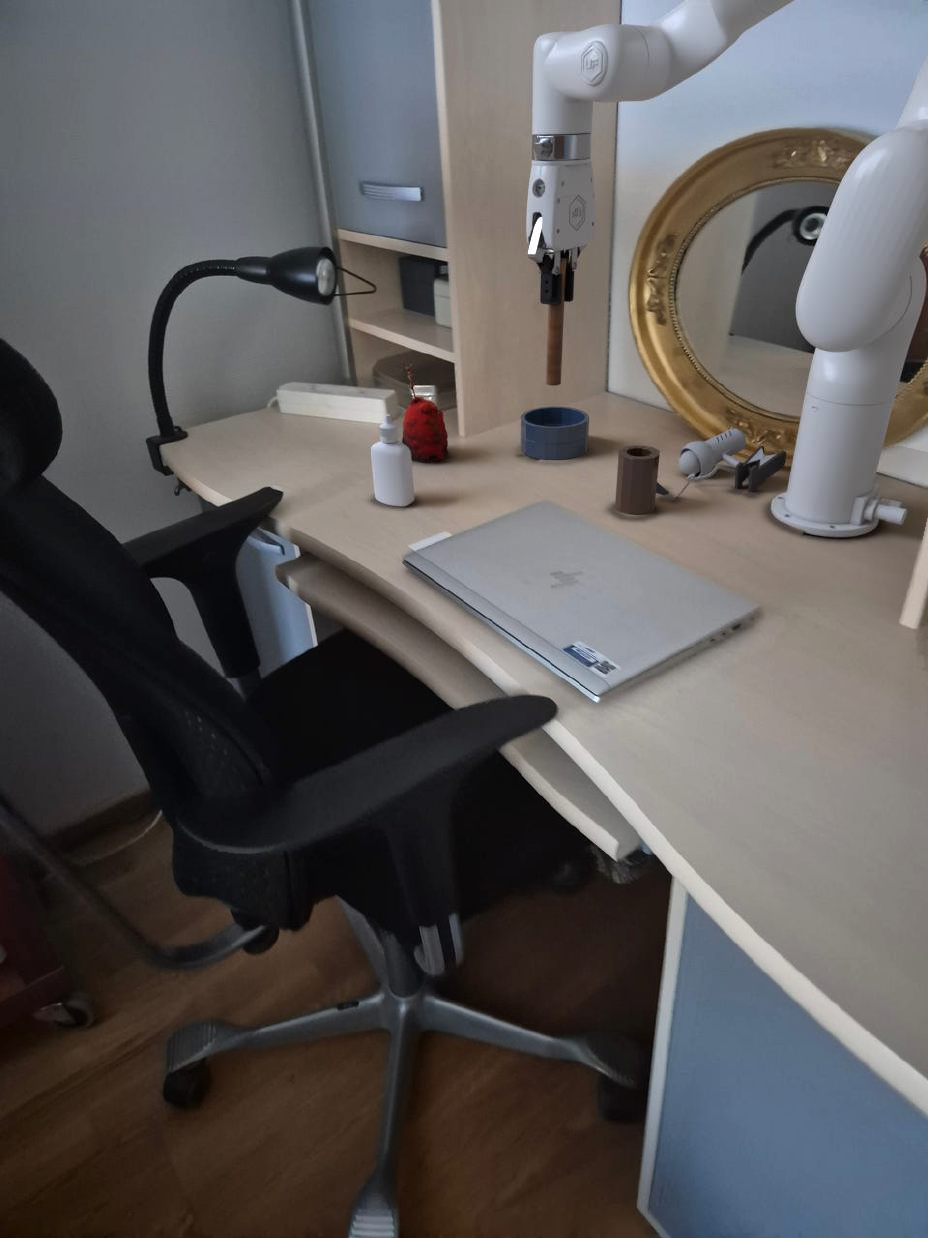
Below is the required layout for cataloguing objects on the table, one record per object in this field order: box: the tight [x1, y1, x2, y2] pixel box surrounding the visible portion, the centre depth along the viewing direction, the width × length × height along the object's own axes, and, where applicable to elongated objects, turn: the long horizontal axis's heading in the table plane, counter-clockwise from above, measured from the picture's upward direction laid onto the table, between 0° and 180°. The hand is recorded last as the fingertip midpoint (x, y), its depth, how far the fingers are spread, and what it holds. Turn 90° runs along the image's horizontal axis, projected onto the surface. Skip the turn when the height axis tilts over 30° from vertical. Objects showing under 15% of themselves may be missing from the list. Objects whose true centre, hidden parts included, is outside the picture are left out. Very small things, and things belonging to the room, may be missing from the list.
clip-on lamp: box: [656, 427, 787, 498], centre depth 110 cm, size 12×6×18 cm
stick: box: [545, 257, 566, 386], centre depth 115 cm, size 2×2×17 cm
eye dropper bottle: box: [370, 413, 415, 507], centre depth 108 cm, size 4×6×12 cm
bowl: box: [520, 405, 590, 461], centre depth 123 cm, size 10×10×6 cm
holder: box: [614, 444, 660, 516], centre depth 103 cm, size 5×5×8 cm
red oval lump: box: [400, 360, 449, 463], centre depth 121 cm, size 8×7×15 cm
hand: (556, 301), depth 113 cm, fingers closed on stick, 2 cm apart
